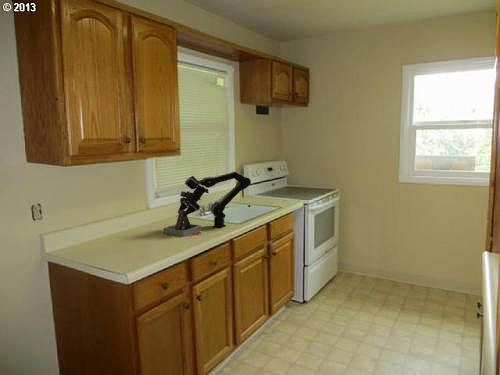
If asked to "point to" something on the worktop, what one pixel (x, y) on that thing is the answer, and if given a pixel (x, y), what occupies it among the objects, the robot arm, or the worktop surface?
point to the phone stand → (180, 222)
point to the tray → (182, 233)
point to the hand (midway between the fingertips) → (181, 214)
